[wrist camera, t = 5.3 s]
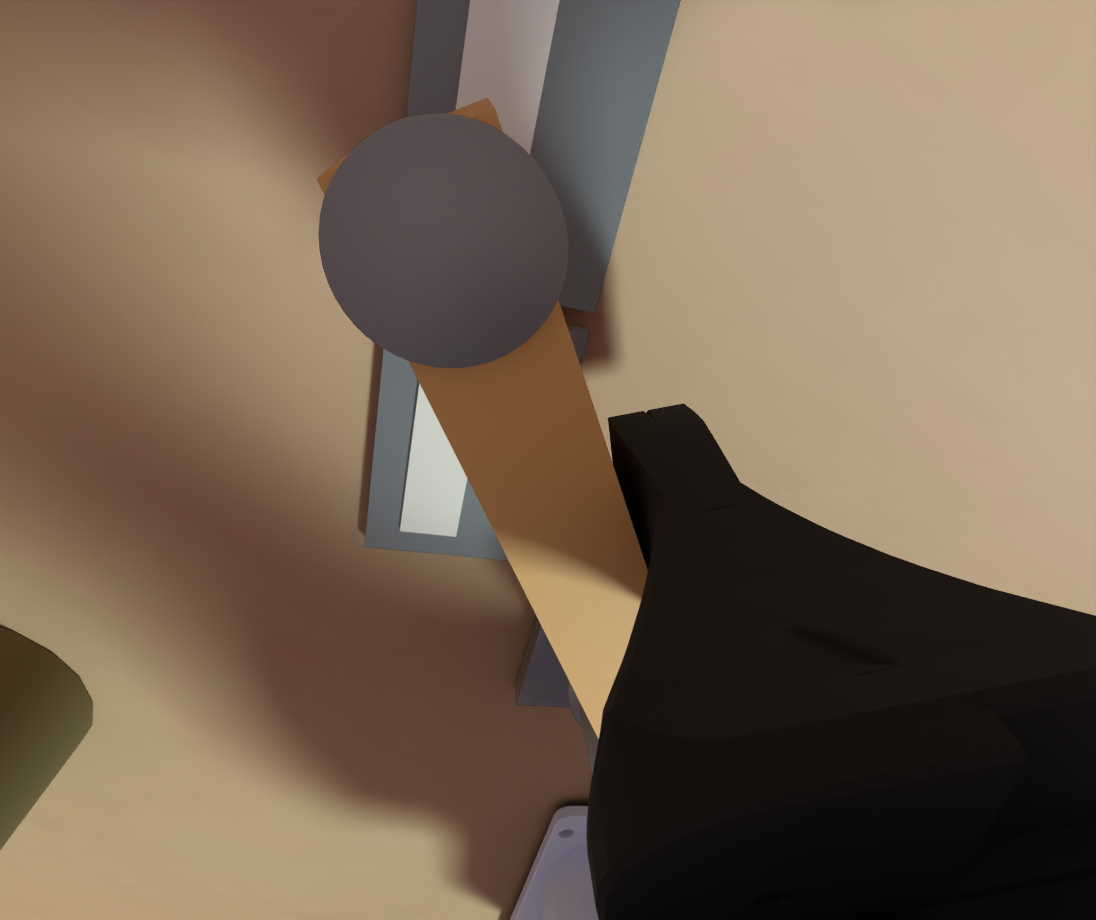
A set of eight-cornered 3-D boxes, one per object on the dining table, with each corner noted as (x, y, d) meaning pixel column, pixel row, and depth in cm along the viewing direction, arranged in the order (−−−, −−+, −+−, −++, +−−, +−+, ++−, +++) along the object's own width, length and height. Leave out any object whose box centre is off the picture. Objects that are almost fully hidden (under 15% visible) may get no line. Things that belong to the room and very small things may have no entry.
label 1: (591, 307, 11) (595, 313, 11) (392, 269, 11) (390, 275, 10) (696, -80, 9) (705, -86, 8) (435, -171, 8) (434, -181, 7)
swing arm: (724, 719, 15) (766, 823, 13) (601, 756, 15) (622, 865, 13) (535, 57, 7) (565, 54, 5) (291, 154, 8) (226, 189, 6)
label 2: (525, 553, 14) (526, 564, 14) (366, 537, 14) (363, 549, 13) (586, 327, 12) (589, 335, 11) (390, 292, 11) (388, 298, 10)
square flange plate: (682, 694, 18) (705, 758, 16) (514, 685, 17) (520, 754, 15) (749, 566, 16) (783, 627, 14) (556, 546, 14) (569, 610, 13)
